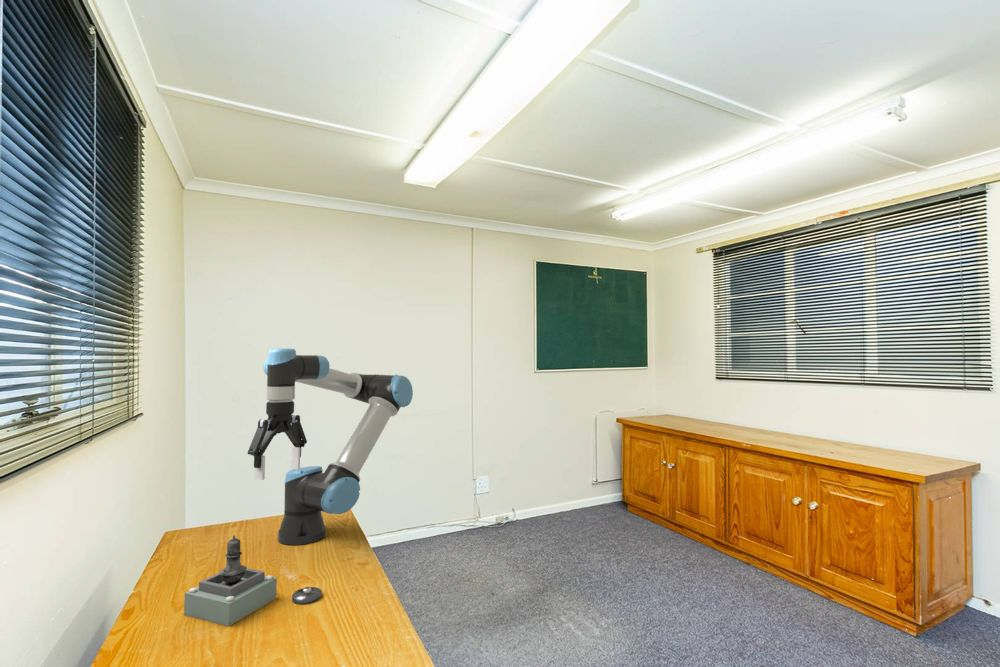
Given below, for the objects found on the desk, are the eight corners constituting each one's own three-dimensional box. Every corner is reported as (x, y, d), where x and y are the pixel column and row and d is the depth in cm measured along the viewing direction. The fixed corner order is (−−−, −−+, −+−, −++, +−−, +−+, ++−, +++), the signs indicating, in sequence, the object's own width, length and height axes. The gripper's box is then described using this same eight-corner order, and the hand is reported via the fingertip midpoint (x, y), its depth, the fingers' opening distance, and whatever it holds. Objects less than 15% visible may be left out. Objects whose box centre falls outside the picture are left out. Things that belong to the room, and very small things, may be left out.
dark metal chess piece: (234, 591, 117) (236, 540, 117) (213, 589, 118) (214, 538, 118) (251, 580, 123) (252, 531, 123) (230, 578, 124) (232, 530, 124)
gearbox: (227, 587, 130) (228, 560, 130) (276, 598, 124) (277, 569, 125) (176, 612, 117) (177, 582, 117) (228, 626, 111) (229, 594, 111)
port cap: (305, 589, 129) (305, 580, 129) (327, 593, 127) (327, 585, 127) (285, 601, 123) (285, 592, 123) (308, 606, 120) (308, 597, 120)
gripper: (300, 397, 157) (298, 464, 156) (235, 403, 134) (232, 482, 133) (320, 398, 155) (318, 466, 154) (256, 405, 131) (253, 485, 130)
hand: (278, 474), depth 143 cm, fingers open, 13 cm apart
